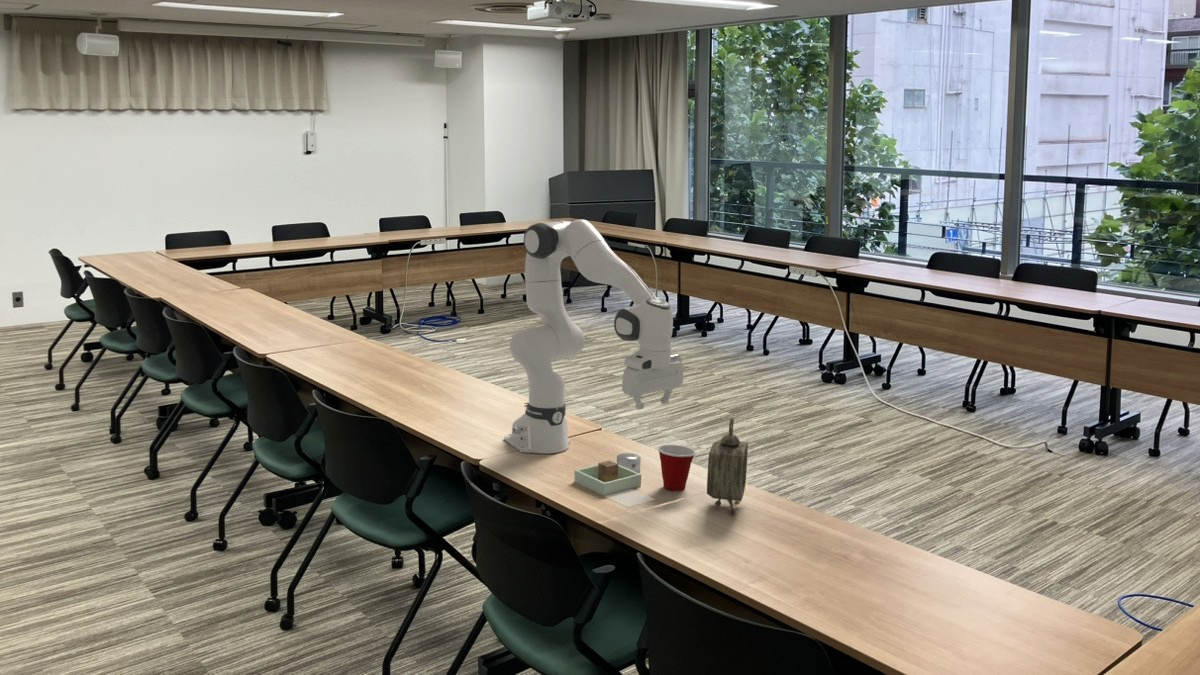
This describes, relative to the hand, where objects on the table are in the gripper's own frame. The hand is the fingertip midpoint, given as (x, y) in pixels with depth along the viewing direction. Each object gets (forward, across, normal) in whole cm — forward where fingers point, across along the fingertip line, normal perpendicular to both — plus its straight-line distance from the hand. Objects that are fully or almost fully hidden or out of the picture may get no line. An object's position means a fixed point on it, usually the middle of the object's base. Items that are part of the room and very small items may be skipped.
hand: (652, 406), depth 285 cm
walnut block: (+23, +9, -7) cm, 26 cm away
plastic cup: (+24, -5, +6) cm, 25 cm away
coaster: (+24, +11, +5) cm, 27 cm away
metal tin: (+24, -3, -12) cm, 27 cm away
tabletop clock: (+24, -7, +24) cm, 34 cm away
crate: (+24, +9, -7) cm, 27 cm away
